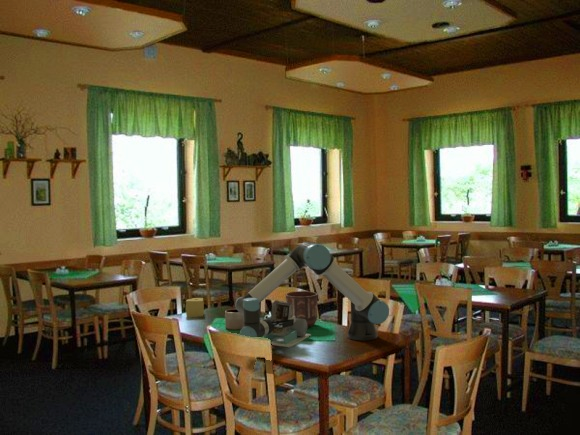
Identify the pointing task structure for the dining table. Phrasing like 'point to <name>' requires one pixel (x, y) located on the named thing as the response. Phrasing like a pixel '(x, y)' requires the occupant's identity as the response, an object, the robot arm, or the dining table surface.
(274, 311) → the coffee box
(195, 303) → the cheese
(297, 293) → the pottery
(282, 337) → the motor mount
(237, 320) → the planter
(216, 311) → the dining table surface
